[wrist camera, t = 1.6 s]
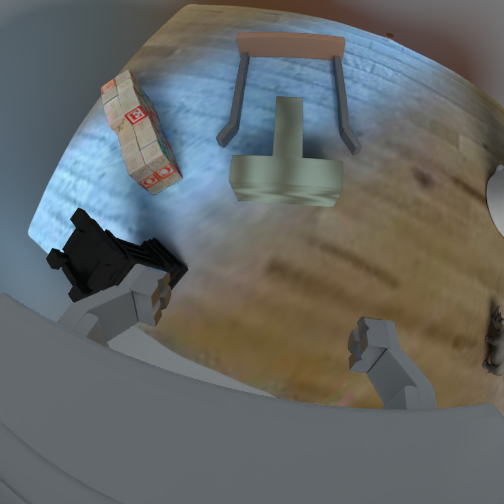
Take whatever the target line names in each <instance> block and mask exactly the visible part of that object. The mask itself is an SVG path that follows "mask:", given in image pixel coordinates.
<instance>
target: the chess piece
mask: <svg viewBox="0 0 504 504" xmlns="http://www.w3.org/2000/svg"><path fill="white" fill-rule="evenodd" d="M70 220H71V221H72V223H73V224H74V225H75V227H76V229H75V230H74V232H73V233H72V235H71V236H70V238H69V239H68V241H67V242H66V244H65V246H64V247H63V249H62V250H63V251H64V253H63V252H60V250H58V249H54V248H52V249H51V251H50V253H49V255H48V256H47V258H46V259H47V262H48V263H49V265H50V267H51V268H52V269H57V270H59V268H60V267H63V268H62V270H63V272H64V273H65V275H66V277H67V278H68V280H69V281H70V283H71V284H72V286H73V287H72V289H71V290H70V292H69V294H68V295H69V297H70V298H71V300H72V301H73V302H74V303H75V302H77V301H80V300H82V299H84V298H87V297H89V296H91V295H94V294H96V293H98V292H100V291H101V290H102V291H103V290H106V289H108V288H110V287H113V286H119V284H120V283H121V282H122V281H123V279H124V278H125V277H126V276H127V274H128V273H129V272H130V271H131V269H132V268H133V267H134V266H135V265H136V264H141V265H144V266H147V267H152V268H155V269H158V270H162V271H165V272H168V273H169V274H170V282H169V283H168V285H169V286H170V287H171V290H172V289H173V288H174V286H175V285H176V284H177V283H178V282H179V280H180V279H181V278H182V277H183V275H184V274H185V273H186V272H187V271H188V269H187V268H186V267H185V266H184V265H183V264H182V263H181V262H180V261H178V260H177V259H176V258H175V257H174V256H173V255H172V254H171V253H170V252H169V251H168V250H167V249H166V248H165V247H164V246H163V245H162V244H161V243H160V242H159V241H158V240H157V239H156V238H153V239H152V240H151V239H149V240H148V241H144V242H143V243H142V245H141V246H138V245H135V244H133V243H130V242H127V241H124V240H121V239H119V238H116V237H115V236H114V235H113V234H112V233H111V232H110V231H109V230H107V229H106V230H105V231H104V230H103V229H102V228H101V227H100V226H99V224H98V223H97V222H96V221H95V220H94V219H92V218H90V216H89V215H88V214H87V213H86V211H85V210H83V209H81V208H77V210H76V211H75V213H74V214H73V216H72V217H71V219H70Z"/></svg>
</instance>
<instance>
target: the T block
mask: <svg viewBox="0 0 504 504" xmlns="http://www.w3.org/2000/svg"><path fill="white" fill-rule="evenodd" d="M302 148H303V98H301V97H280V96H277V98H276V113H275V128H274V143H273V156H253V155H232V161H231V169H230V176H229V183H230V185H231V187H232V189H233V191H234V193H235V195H236V197H237V199H238V201H252V202H271V203H287V204H301V205H314V206H326V207H334V205H335V203H336V201H337V199H338V197H339V195H340V194H341V192H342V190H343V163H342V161H333V160H322V159H310V158H302Z"/></svg>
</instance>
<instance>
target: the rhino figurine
mask: <svg viewBox="0 0 504 504" xmlns="http://www.w3.org/2000/svg"><path fill="white" fill-rule="evenodd" d="M499 307H500V305H499V306H498V307H497V308H496V310H495V313H493V314H492V315H491V317H492V320H493V324H494V327H495V328H496V329H497V335H495V337H493V338H490V336H486V337H485V342H486V343H490V344H492V345H493V349H492V353H491V359H492V362H493V364H491V365H490V364H489V363H488V362H487V361H484V362H483V365H482V366H483V368H484V369H486V368H487V369H488V371H489V373H491V372H492V373H493V374H494V375H497V376H498V375H499V376H501V375H503V374H504V319H502V317H501V312H500V313H499Z"/></svg>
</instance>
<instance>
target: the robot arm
mask: <svg viewBox="0 0 504 504" xmlns="http://www.w3.org/2000/svg"><path fill="white" fill-rule="evenodd" d="M487 203H488V207H489V211H490V214H491V217H492V219H493V221H494V223H495V225H496V227H497V229H498V230H499V232H500V233H501V234H502V235H503V237H504V166H503V165H498V166H497V168H496V171H495V174H494V175H493V176H492V177H491V178H490V179H489V181H488V184H487ZM169 282H170V274H169V273H168V272H165V271H162V270H158V269H155V268H152V267H147V266H144V265H141V264H136V265H135V266H134V267H133V268H132V269H131V271H130V272H129V273H128V274H127V276H126V277H125V278H124V279H123V281H122V282H121V283H120V284H119V286H113V287H110V288H108V289H106V290H103V291H101V292H98V293H96V294H94V295H91V296H89V297H87V298H84V299H82V300H80V301H77V302H75V303H73V304H71V305H70V306H69V308H68V309H67V310H66V312H65V313H64V314H63V315H62V317H61V318H60V319H59V320H58V321H57V322H54V321H53V320H51V319H49V318H47V317H46V316H44V315H42V314H40V313H39V312H37V311H35V310H33V309H32V308H30V307H28V306H27V305H25V304H24V303H22V302H20V301H19V300H17V299H16V298H14V297H13V296H11V295H9V294H7V293H1V294H0V504H504V416H503V415H502V414H501V413H500V411H499V410H498V409H497V408H496V407H495V406H494V405H493V404H491V403H485V404H478V405H470V406H461V407H451V408H437V405H436V399H435V394H434V389H433V385H432V384H431V383H430V382H429V381H428V379H427V378H426V377H425V376H424V374H423V373H422V372H421V371H420V370H419V368H418V367H417V366H416V365H415V364H414V362H413V361H412V360H411V359H410V358H409V357H408V355H407V354H406V353H405V352H404V351H403V350H401V349H400V345H399V341H398V336H397V332H396V328H395V324H394V322H393V321H388V320H381V319H375V318H369V317H364V316H362V317H361V318H360V319H359V320H358V322H357V325H358V327H356V328H354V329H353V330H352V332H351V334H350V337H349V340H348V350H349V351H350V353H351V356H350V357H349V370H350V371H355V372H362V373H367V376H368V377H369V379H370V381H371V383H372V384H373V386H374V388H375V389H376V391H377V393H378V395H379V396H380V398H381V400H382V402H383V403H384V406H383V407H382V408H381V409H364V408H349V407H338V406H328V405H319V404H311V403H304V402H297V401H291V400H284V399H279V398H273V397H268V396H263V395H258V394H253V393H248V392H244V391H239V390H235V389H231V388H227V387H223V386H219V385H215V384H211V383H208V382H204V381H201V380H197V379H194V378H190V377H187V376H184V375H181V374H177V373H174V372H171V371H168V370H165V369H163V368H160V367H157V366H154V365H151V364H148V363H146V362H143V361H140V360H138V359H135V358H133V357H130V356H127V355H125V354H122V353H120V352H118V351H115V350H113V349H111V348H109V346H108V343H107V342H108V341H110V340H111V339H113V338H114V337H116V336H118V335H119V334H121V333H122V332H124V331H125V330H127V329H129V328H130V327H131V326H133V325H135V324H136V323H138V322H141V323H145V324H148V325H151V326H154V327H156V325H157V324H158V322H159V320H160V318H161V316H162V313H161V311H162V310H164V309H166V307H167V306H168V304H169V301H170V297H171V287H170V286H169V285H168V283H169Z"/></svg>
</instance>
